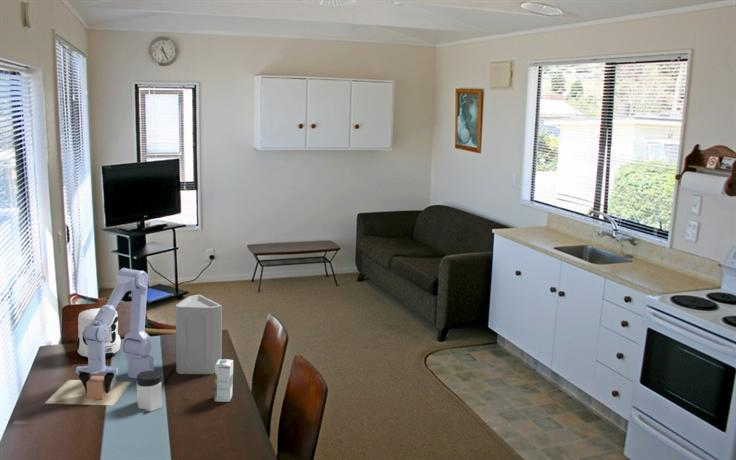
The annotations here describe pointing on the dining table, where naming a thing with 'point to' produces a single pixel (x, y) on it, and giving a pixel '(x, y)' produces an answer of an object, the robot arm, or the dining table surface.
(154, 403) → the jar
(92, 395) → the terracotta cover
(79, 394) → the birch board
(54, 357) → the dining table surface
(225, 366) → the syrup box
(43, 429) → the dining table surface
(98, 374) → the grey cover
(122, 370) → the dining table surface
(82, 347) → the milk container
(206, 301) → the white triangular prism
